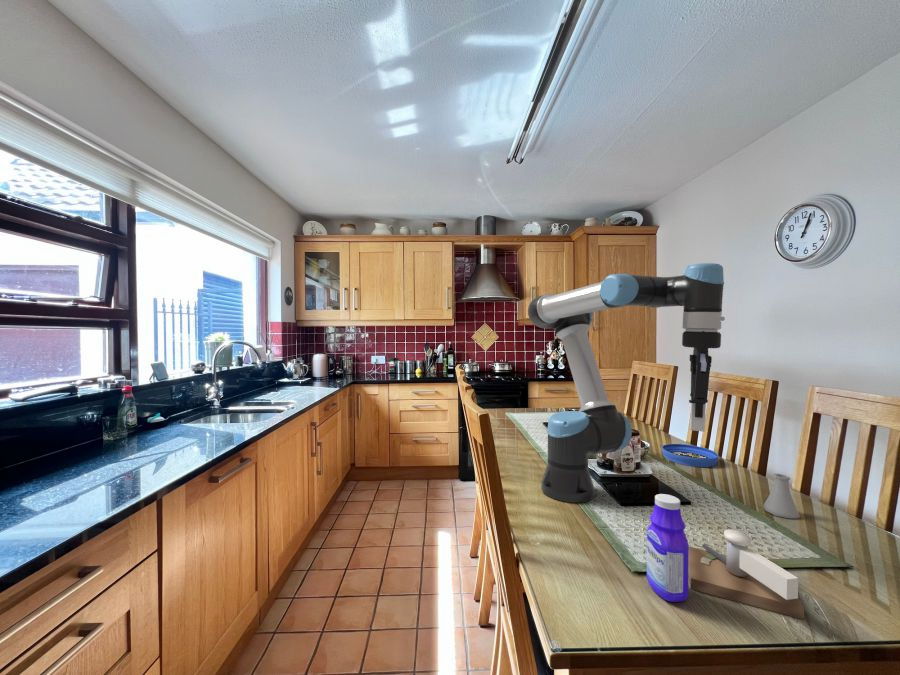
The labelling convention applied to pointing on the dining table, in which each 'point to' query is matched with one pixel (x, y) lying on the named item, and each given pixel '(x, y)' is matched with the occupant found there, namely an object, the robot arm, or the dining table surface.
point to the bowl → (689, 460)
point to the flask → (781, 499)
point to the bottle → (667, 550)
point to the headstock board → (735, 585)
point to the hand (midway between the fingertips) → (697, 430)
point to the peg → (755, 565)
